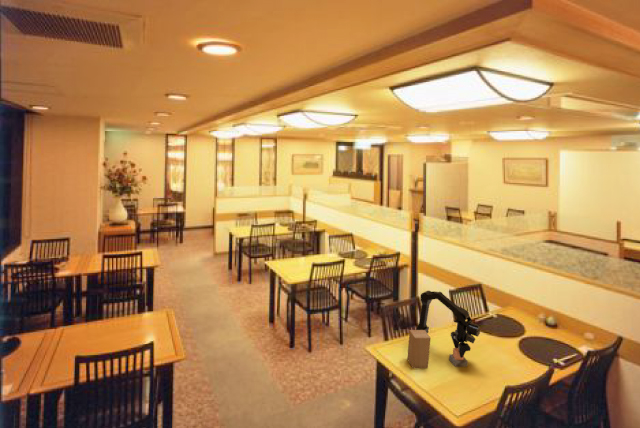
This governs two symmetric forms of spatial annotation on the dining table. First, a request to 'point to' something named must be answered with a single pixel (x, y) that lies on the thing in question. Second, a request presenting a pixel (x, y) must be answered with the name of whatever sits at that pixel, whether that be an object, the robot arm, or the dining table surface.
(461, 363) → the charcoal plinth
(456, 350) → the terracotta cube
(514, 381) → the dining table surface
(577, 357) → the dining table surface
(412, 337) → the wooden block
